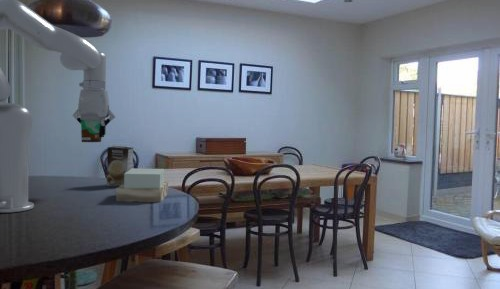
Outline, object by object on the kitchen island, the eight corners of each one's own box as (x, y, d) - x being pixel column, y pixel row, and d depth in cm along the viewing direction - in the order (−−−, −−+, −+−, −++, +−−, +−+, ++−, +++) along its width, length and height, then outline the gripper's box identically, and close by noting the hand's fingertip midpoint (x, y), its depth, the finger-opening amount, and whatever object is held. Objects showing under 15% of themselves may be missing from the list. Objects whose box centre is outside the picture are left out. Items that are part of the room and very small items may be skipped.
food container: (97, 142, 154) (97, 114, 153) (79, 142, 154) (80, 113, 153) (109, 141, 166) (109, 114, 165) (93, 140, 166) (93, 114, 165)
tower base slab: (160, 203, 151) (160, 189, 151) (116, 202, 150) (116, 188, 150) (167, 195, 168) (167, 182, 167) (127, 194, 167) (128, 181, 167)
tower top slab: (159, 188, 152) (160, 174, 151) (124, 188, 150) (124, 173, 150) (163, 182, 167) (164, 168, 167) (131, 181, 166) (131, 168, 166)
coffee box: (105, 186, 180) (106, 147, 180) (112, 184, 187) (112, 146, 186) (127, 187, 180) (128, 148, 179) (133, 185, 186) (133, 147, 185)
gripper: (66, 84, 154) (65, 136, 155) (115, 86, 155) (115, 137, 156) (73, 86, 162) (73, 135, 163) (120, 88, 163) (120, 137, 164)
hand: (93, 136), depth 160 cm, fingers closed on food container, 5 cm apart
